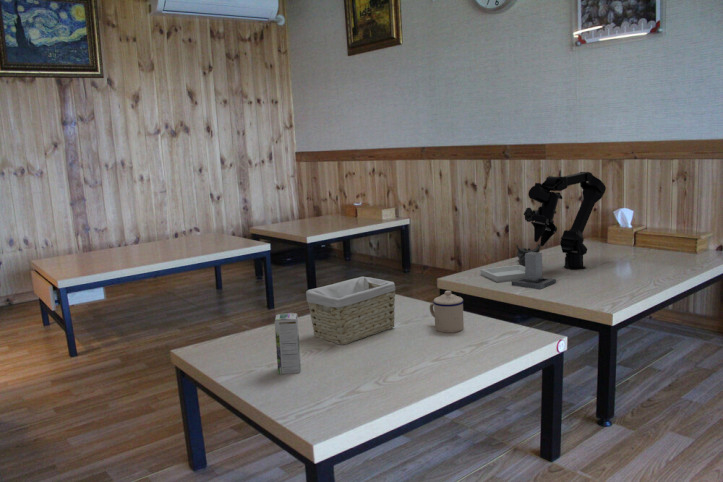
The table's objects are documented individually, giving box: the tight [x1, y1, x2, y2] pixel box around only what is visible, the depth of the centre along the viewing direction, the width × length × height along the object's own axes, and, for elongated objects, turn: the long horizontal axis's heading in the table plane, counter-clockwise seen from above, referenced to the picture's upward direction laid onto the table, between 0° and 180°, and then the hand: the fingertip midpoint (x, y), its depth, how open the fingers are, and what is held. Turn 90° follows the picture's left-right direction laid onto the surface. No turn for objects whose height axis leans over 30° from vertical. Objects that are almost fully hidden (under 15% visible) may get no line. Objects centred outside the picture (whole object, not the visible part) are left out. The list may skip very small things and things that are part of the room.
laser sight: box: [515, 243, 541, 267], centre depth 264 cm, size 10×22×10 cm, turn 173°
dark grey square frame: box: [511, 276, 557, 290], centre depth 231 cm, size 12×12×2 cm
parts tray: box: [479, 264, 525, 283], centre depth 246 cm, size 18×15×2 cm
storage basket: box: [305, 276, 396, 345], centre depth 184 cm, size 24×16×15 cm
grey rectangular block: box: [525, 252, 543, 283], centre depth 230 cm, size 4×4×12 cm
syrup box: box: [274, 312, 302, 375], centre depth 156 cm, size 6×6×14 cm
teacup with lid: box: [429, 290, 465, 334], centre depth 183 cm, size 12×9×12 cm
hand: (538, 244), depth 241 cm, fingers open, 9 cm apart
